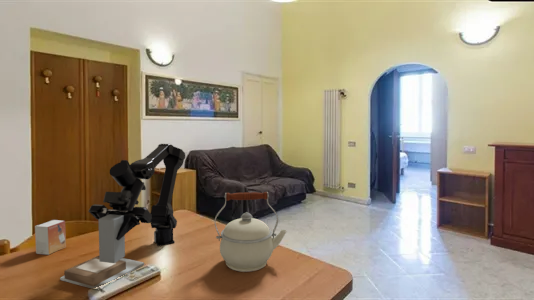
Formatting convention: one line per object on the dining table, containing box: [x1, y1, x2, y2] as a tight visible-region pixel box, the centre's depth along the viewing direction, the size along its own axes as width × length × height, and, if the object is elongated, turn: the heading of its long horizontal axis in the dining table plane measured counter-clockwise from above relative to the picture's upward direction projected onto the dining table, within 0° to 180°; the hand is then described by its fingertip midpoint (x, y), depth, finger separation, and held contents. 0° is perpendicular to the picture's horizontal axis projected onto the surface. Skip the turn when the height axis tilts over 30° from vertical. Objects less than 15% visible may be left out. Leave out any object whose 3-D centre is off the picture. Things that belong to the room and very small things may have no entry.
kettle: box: [214, 191, 288, 273], centre depth 109 cm, size 25×18×25 cm
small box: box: [34, 219, 67, 256], centre depth 118 cm, size 8×6×10 cm
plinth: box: [59, 255, 145, 290], centre depth 102 cm, size 18×16×4 cm
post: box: [97, 214, 126, 263], centre depth 96 cm, size 5×5×13 cm
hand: (109, 239), depth 95 cm, fingers closed on post, 5 cm apart
